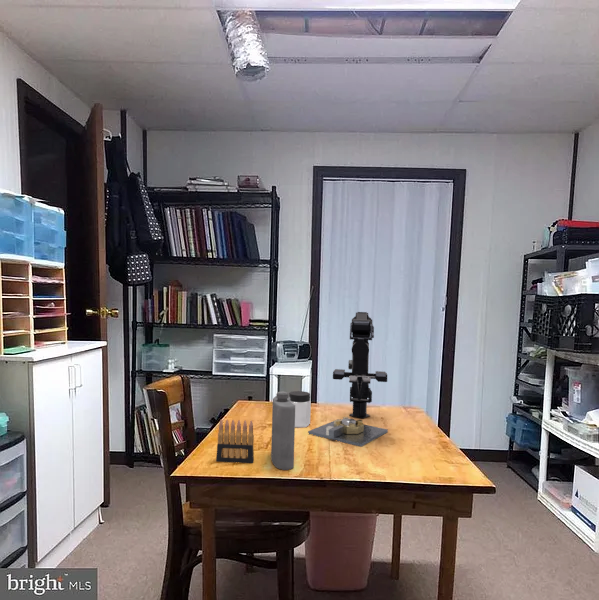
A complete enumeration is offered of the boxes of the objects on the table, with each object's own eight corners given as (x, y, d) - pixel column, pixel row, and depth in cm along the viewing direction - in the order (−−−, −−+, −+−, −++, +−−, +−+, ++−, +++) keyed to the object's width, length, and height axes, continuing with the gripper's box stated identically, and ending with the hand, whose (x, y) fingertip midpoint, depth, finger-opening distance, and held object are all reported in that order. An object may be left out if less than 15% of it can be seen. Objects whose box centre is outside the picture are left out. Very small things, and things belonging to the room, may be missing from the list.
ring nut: (343, 424, 162) (343, 415, 162) (367, 429, 156) (367, 420, 156) (318, 434, 148) (319, 425, 148) (343, 440, 142) (344, 430, 142)
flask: (269, 452, 133) (270, 387, 133) (287, 451, 134) (289, 387, 134) (274, 470, 118) (276, 398, 118) (294, 470, 119) (297, 397, 119)
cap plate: (338, 421, 170) (338, 410, 170) (387, 432, 157) (387, 419, 157) (308, 433, 152) (308, 421, 152) (361, 446, 140) (361, 432, 140)
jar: (314, 425, 163) (315, 394, 163) (297, 429, 158) (298, 396, 158) (299, 420, 170) (300, 390, 170) (283, 423, 165) (284, 392, 165)
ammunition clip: (215, 461, 124) (217, 419, 124) (217, 459, 126) (218, 418, 126) (252, 463, 123) (254, 421, 123) (253, 460, 125) (255, 419, 125)
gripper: (386, 354, 157) (385, 396, 157) (335, 352, 160) (334, 393, 160) (388, 357, 146) (386, 403, 146) (333, 355, 149) (332, 400, 149)
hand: (359, 400), depth 151 cm, fingers closed
